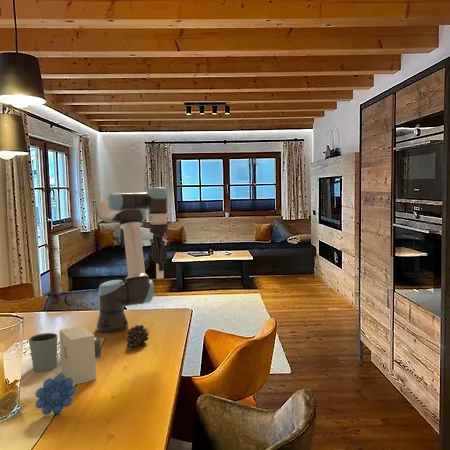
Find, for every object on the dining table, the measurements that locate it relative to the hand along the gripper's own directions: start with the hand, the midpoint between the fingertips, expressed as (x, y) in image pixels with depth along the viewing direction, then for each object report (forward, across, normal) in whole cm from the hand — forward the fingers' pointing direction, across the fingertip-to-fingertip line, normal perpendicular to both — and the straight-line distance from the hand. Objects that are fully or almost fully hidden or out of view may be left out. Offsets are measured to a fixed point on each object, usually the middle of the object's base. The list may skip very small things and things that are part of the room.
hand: (160, 278), depth 199 cm
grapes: (+30, +37, -54) cm, 72 cm away
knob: (+24, +12, -38) cm, 47 cm away
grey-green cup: (+30, -4, -48) cm, 57 cm away
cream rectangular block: (+29, +12, -40) cm, 51 cm away
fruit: (+30, -6, -10) cm, 32 cm away
